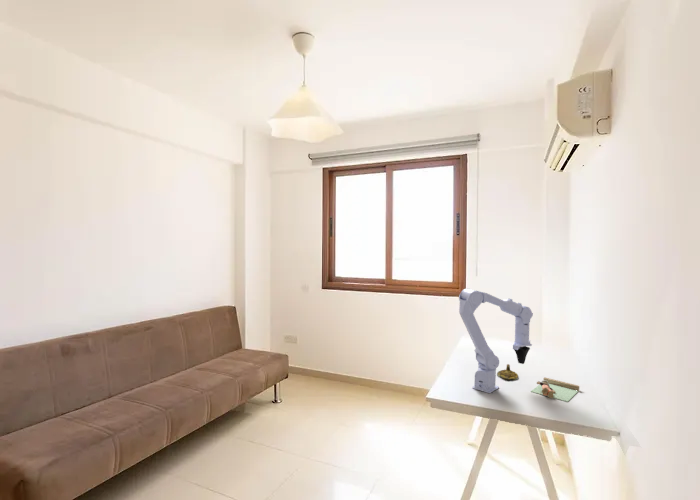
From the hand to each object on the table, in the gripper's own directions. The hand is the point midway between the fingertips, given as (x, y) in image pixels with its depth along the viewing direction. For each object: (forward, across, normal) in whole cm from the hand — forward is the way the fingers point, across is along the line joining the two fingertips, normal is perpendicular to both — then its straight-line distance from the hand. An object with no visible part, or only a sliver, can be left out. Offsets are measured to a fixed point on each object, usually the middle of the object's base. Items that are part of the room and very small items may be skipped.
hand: (521, 363), depth 163 cm
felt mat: (+10, +5, -12) cm, 17 cm away
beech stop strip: (+10, +14, -12) cm, 22 cm away
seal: (+11, +10, +10) cm, 18 cm away
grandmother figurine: (+8, -4, -12) cm, 15 cm away
